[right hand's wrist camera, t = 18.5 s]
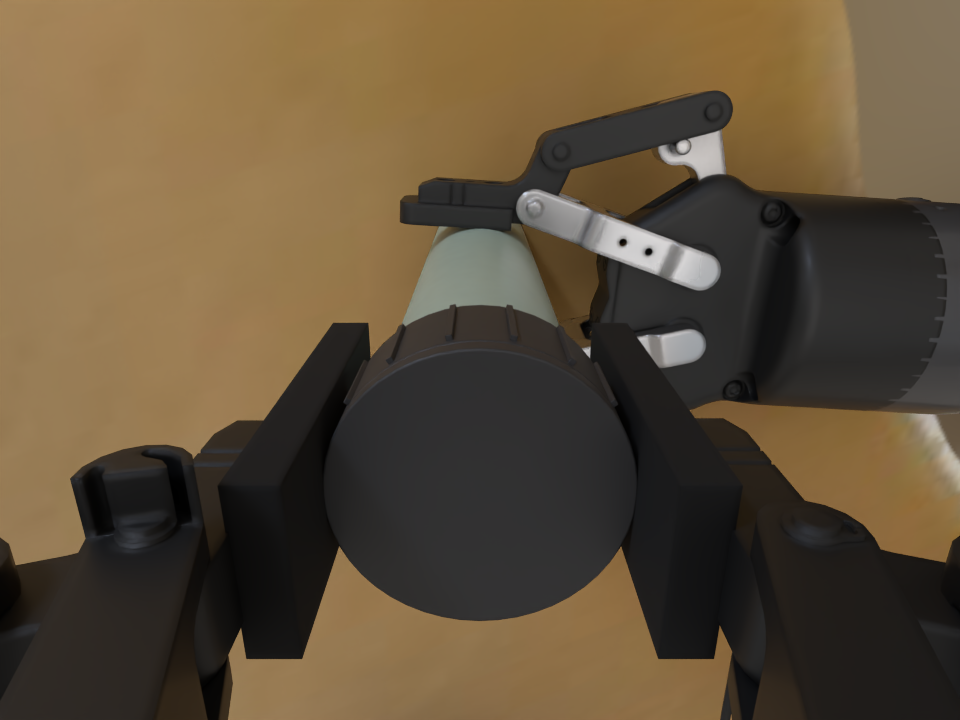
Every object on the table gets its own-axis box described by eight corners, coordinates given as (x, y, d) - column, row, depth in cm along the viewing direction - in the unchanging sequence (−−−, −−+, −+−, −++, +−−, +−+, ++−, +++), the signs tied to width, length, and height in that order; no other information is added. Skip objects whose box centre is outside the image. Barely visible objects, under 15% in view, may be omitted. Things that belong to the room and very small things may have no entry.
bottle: (522, 196, 28) (601, 342, 10) (529, 287, 29) (607, 561, 11) (429, 204, 28) (336, 365, 10) (439, 295, 30) (375, 579, 11)
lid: (478, 580, 13) (478, 670, 11) (293, 428, 12) (253, 495, 10) (666, 430, 12) (707, 498, 10) (481, 242, 11) (482, 273, 9)
